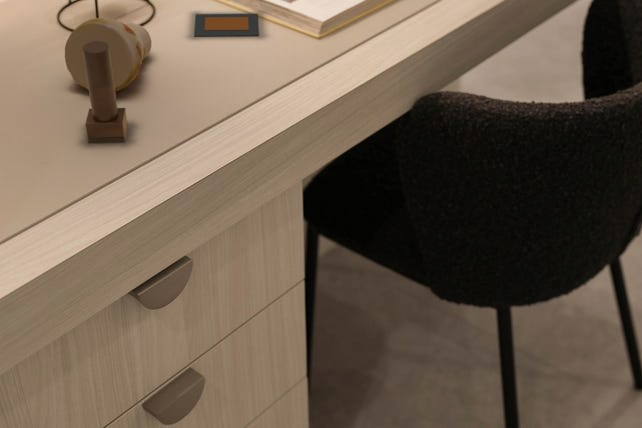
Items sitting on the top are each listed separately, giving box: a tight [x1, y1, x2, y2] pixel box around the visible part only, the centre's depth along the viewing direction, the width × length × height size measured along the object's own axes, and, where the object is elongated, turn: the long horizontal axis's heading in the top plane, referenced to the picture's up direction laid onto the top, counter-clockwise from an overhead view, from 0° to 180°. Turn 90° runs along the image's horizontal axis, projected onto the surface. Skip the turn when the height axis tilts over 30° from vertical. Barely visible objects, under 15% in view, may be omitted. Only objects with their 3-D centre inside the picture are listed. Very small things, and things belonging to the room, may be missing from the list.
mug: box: [64, 17, 153, 93], centre depth 85 cm, size 8×10×10 cm
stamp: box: [82, 41, 129, 144], centre depth 75 cm, size 3×3×9 cm
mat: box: [193, 13, 260, 38], centre depth 96 cm, size 7×5×1 cm
